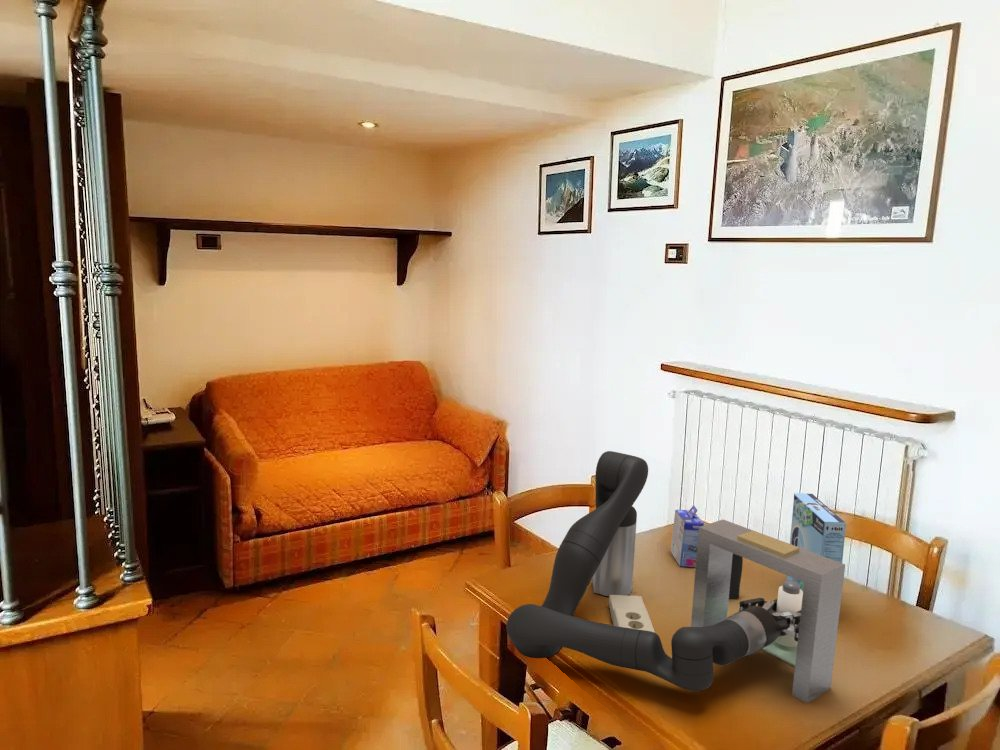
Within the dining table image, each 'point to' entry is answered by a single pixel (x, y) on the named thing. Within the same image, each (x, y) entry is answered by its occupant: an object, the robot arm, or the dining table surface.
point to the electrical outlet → (629, 612)
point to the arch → (790, 560)
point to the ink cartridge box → (685, 537)
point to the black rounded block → (735, 576)
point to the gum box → (816, 529)
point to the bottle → (789, 606)
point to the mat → (782, 652)
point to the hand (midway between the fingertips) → (795, 607)
